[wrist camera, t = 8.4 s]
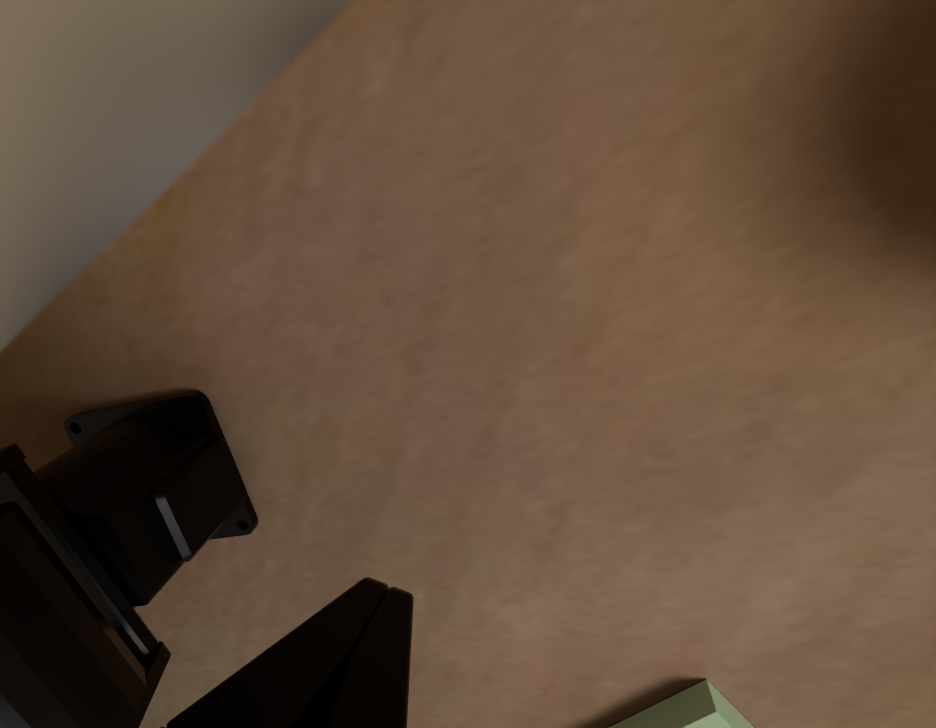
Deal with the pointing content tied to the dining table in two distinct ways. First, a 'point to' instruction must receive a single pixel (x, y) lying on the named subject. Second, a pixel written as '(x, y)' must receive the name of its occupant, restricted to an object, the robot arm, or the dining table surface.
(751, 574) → the dining table surface
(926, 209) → the dining table surface
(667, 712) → the board
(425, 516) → the dining table surface
